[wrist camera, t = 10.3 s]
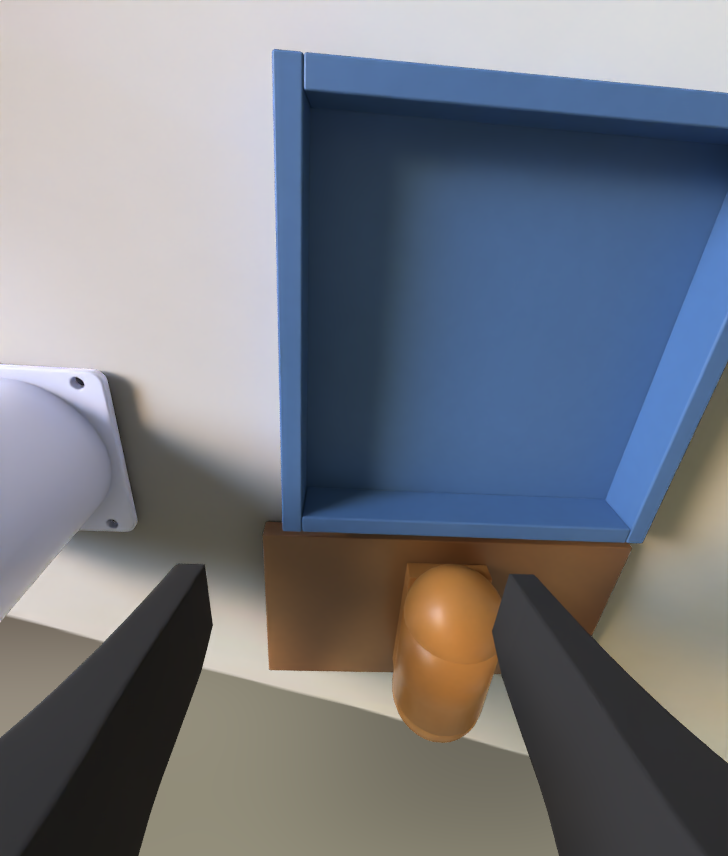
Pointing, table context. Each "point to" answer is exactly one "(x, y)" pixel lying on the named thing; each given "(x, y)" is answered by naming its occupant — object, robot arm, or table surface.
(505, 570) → the bread board
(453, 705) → the bread roll
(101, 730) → the robot arm
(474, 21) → the table surface
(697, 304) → the bread tray
